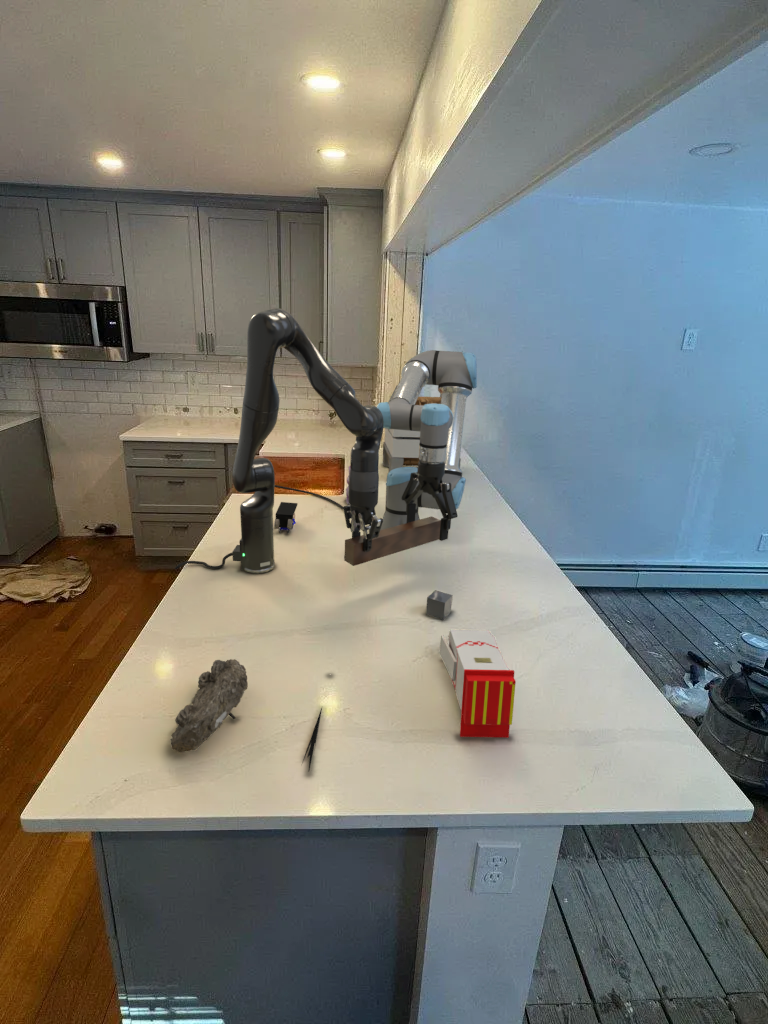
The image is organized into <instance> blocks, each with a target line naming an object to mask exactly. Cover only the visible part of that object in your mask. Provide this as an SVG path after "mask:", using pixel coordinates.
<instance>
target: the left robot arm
mask: <svg viewBox="0 0 768 1024" xmlns="http://www.w3.org/2000/svg"><path fill="white" fill-rule="evenodd" d="M246 335H247V336H246V337H247V338H246V346H247V347H246V355H247V356H246V358H247V359H246V373H245V385H244V392H243V399H242V406H241V407H242V408H241V419H240V429H239V435H238V436H239V437H238V441H237V442H238V443H237V447H236V452H235V455H234V461H233V466H232V475H231V476H232V477H231V478H232V484H233V487H234V489H235V491H237V493H240V494H251V493H252V495H251V496H250V497H249V498H247V499H245V500H243V501H242V502H241V504H240V506H239V513H240V514H239V515H240V535H241V536H240V537H241V538H240V539H239V544H236V546H235V547H234V549H233V550H232V552H230V553H228V554H226V555H225V556H223V558H222V561H221V564H220V565H210V564H207V562H205V561H199V560H186V561H183V562H180V563H178V564H177V565H176V566H175V567H174V569H175V570H178V569H180V568H181V567H182V566H185V565H202V566H204V567H205V568H207V569H210V570H211V569H212V570H213V569H214V570H219V569H222V568H223V567H224V566H225V565H226V560H227V559H228V558H230V557H232V562H239V563H240V571H243V572H246V573H250V574H264V573H268V572H270V571H272V570H273V569H274V568H275V544H274V543H275V542H274V507H275V488H276V487H275V485H276V479H275V478H276V476H275V475H276V474H275V469H274V465H273V463H272V462H271V460H270V459H268V457H267V458H266V457H258V458H255V456H256V454H257V452H258V450H259V449H260V447H261V446H262V445H263V443H264V442H265V441H266V440H267V438H268V437H269V436H270V434H271V433H272V431H273V430H274V428H275V426H276V425H277V422H278V416H279V410H280V393H279V390H278V388H277V385H276V381H275V378H274V366H275V361H276V356H277V352H278V351H279V350H280V349H284V350H286V351H287V352H288V353H290V354H291V355H292V356H293V357H294V358H295V359H296V360H297V361H298V362H299V363H300V366H301V367H302V369H303V371H304V373H305V375H306V377H307V380H308V382H309V384H310V386H311V387H312V389H313V390H314V391H315V393H316V394H317V395H318V396H319V397H320V398H321V399H322V400H323V401H324V402H325V403H326V404H328V406H329V407H331V409H333V411H334V412H335V414H336V416H337V417H338V419H339V420H340V421H341V423H342V424H343V426H344V427H345V428H346V429H347V430H348V432H349V433H350V434H352V435H353V436H355V443H354V445H353V446H352V447H351V449H350V463H349V464H350V465H349V466H350V474H349V473H348V476H349V499H348V502H349V504H347V505H344V506H343V509H344V510H343V509H342V510H343V513H344V519H345V526H346V528H347V529H349V530H350V532H351V538H354V537H358V536H361V535H363V536H364V539H363V551H364V552H368V551H371V549H372V539H373V538H377V537H378V536H379V533H380V530H381V526H382V523H383V517H378V516H377V515H376V514H377V513H376V507H377V505H378V503H379V487H380V486H379V485H380V475H379V459H380V455H379V453H380V448H381V443H382V438H383V434H384V433H383V432H384V428H383V425H384V421H383V415H382V413H381V411H380V410H379V409H378V408H377V406H376V405H373V404H367V405H363V404H362V403H361V402H360V400H358V398H357V397H356V391H355V389H354V388H353V387H352V385H351V384H350V383H349V382H348V381H347V380H346V379H345V378H344V377H343V376H342V375H341V374H340V373H339V372H338V371H336V369H335V368H334V367H333V366H332V365H331V364H330V363H329V362H328V361H327V360H326V358H325V357H324V356H323V355H322V353H321V352H320V351H319V350H318V348H317V346H316V345H315V344H314V343H313V342H312V340H311V339H310V337H309V336H308V334H307V333H306V332H305V331H304V329H303V328H302V327H301V325H300V324H299V323H298V321H297V320H296V319H295V317H293V315H292V314H291V313H290V312H289V311H287V310H286V309H284V308H279V307H276V308H271V309H266V310H263V311H259V312H256V313H255V314H253V316H252V317H251V318H250V320H249V322H248V326H247V334H246ZM361 531H362V532H361ZM374 532H375V533H374ZM361 533H362V534H361ZM187 563H188V564H187Z"/></svg>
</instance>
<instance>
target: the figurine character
mask: <svg viewBox="0 0 768 1024" xmlns="http://www.w3.org/2000/svg"><path fill="white" fill-rule="evenodd" d="M297 507H298V502H287V501H285V502H284V501H281V502H280V504H279V506H278V508H277V510H276V512H275V519H274V521H273V530H274V529H275V530H278V533H279V534H281V533H282V531H286V534H289V533H290V530H292V529H293V527H294V526H295V525H296V524H297V521H296V513H295V512H296V510H297Z"/></svg>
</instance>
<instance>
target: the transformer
mask: <svg viewBox="0 0 768 1024" xmlns="http://www.w3.org/2000/svg"><path fill="white" fill-rule="evenodd" d="M397 386H398V384H397V385H396V386H395V388H394V389H393V392H392V393H391V395H390V398H389V400H388V401H387V402H388V403H389V401H390V399H391V397H392V395H393V394H394V392H395V390H396V388H397ZM441 396H442V395H441V394H440V393H439V396H418V399H417V401H416V403H415V405H425V404H441ZM382 442H383V443H382V463H381V464H382V465H383V467H386V468H388V473H389V472H390V471H391V470H393V469H396V468H401V467H416V466H417V467H418V462H419V460H420V459H419V443H420V431H410V430H397V429H386V428H384V440H383V441H382ZM462 443H463V442H462V441H461V444H462ZM461 452H462V448H461V449H460V455H461ZM461 462H462V458H461V457H460V458H459V466H458V467H459V469H460V470H461Z"/></svg>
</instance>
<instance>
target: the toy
mask: <svg viewBox="0 0 768 1024" xmlns="http://www.w3.org/2000/svg"><path fill="white" fill-rule="evenodd" d="M438 654H439V656H440V658H441V660H442V662H443V665H444V666H445V668H446V671H447V673H448V675H449V677H450V681H451V683H452V685H453V689H454V690H455V695H456V698H457V702H458V705H459V708H460V726H459V737H460V738H509V737H510V728H511V727H510V726H512V725H513V717H514V706H515V705H514V704H515V693H516V684H517V683H516V679H515V670H514V669H510V667H509V666H508V663H507V662H506V660H505V658H504V655H503V654H502V652H501V650H500V648H499V644H498V642H497V638H496V635H495V634H492V632H491V631H490V629H467V628H466V629H465V628H463V629H461V628H460V629H459V628H450V629H449V631H448V641H447V639H446V638H445V636H444V634H443V635H442V634H441V635H440V641H439V651H438Z"/></svg>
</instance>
